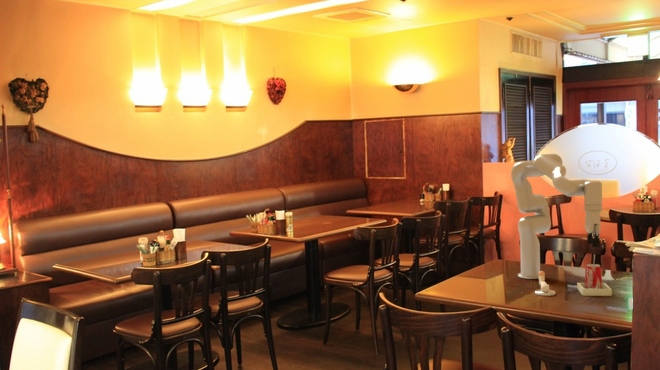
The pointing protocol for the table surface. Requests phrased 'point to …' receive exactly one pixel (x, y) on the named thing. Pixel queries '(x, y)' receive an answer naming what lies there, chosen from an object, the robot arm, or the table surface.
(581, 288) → the tray
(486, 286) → the table surface
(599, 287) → the soda can
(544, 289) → the crank
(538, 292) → the crank base
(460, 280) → the table surface
